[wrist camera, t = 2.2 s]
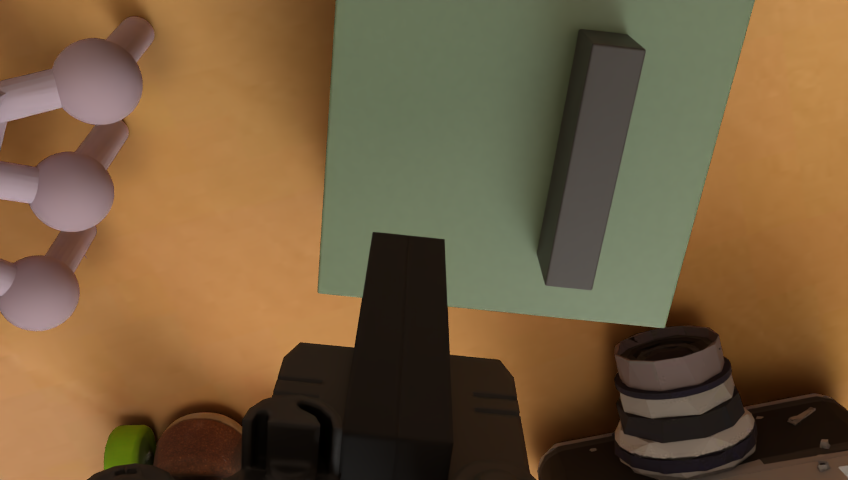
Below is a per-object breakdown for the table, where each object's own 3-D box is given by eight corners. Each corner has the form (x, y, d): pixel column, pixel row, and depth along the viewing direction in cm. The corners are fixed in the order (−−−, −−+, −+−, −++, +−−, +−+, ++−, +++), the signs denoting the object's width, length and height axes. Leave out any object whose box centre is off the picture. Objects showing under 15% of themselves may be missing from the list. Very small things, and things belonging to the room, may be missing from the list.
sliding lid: (343, -87, 25) (331, -82, 22) (756, -38, 25) (798, -26, 22) (319, 283, 30) (307, 328, 27) (659, 318, 31) (683, 365, 28)
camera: (821, 284, 39) (932, 341, 30) (849, 445, 41) (965, 553, 31) (508, 349, 41) (515, 424, 31) (544, 503, 42) (561, 622, 33)
